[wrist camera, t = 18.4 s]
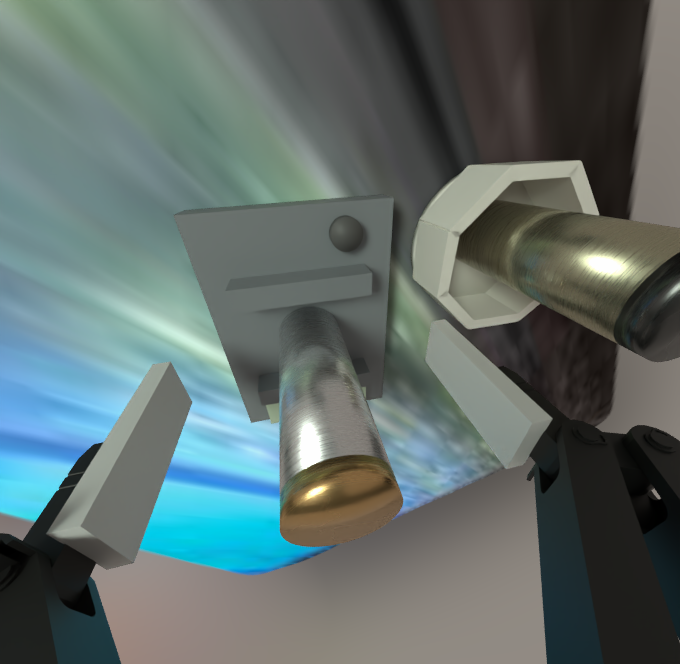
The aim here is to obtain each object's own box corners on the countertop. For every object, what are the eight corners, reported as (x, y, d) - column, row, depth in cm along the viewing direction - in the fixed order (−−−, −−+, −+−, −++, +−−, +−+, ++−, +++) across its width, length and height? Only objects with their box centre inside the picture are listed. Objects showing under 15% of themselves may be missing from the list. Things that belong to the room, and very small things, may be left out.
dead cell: (446, 212, 14) (675, 277, 6) (506, 187, 14) (822, 219, 6) (450, 270, 16) (626, 377, 8) (503, 249, 16) (735, 335, 8)
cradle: (184, 210, 12) (160, 221, 10) (383, 194, 14) (406, 200, 11) (253, 406, 20) (249, 440, 18) (376, 383, 21) (388, 412, 19)
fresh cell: (286, 361, 16) (293, 557, 8) (272, 312, 14) (265, 506, 6) (340, 350, 17) (400, 526, 9) (335, 301, 15) (406, 470, 7)
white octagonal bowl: (419, 168, 13) (459, 168, 10) (555, 159, 14) (626, 157, 12) (405, 307, 18) (430, 335, 15) (509, 292, 19) (552, 315, 16)
